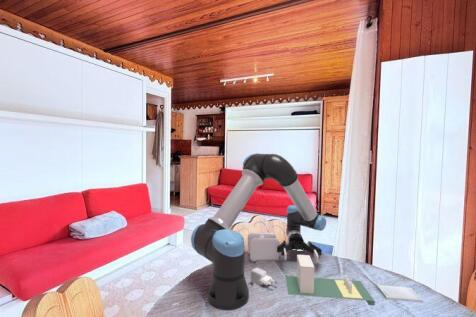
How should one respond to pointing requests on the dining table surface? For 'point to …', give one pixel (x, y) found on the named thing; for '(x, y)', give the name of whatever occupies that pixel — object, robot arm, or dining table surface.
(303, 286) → the block
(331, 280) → the board
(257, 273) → the power adapter
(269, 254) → the cable organizer
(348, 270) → the dining table surface
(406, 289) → the hard drive
